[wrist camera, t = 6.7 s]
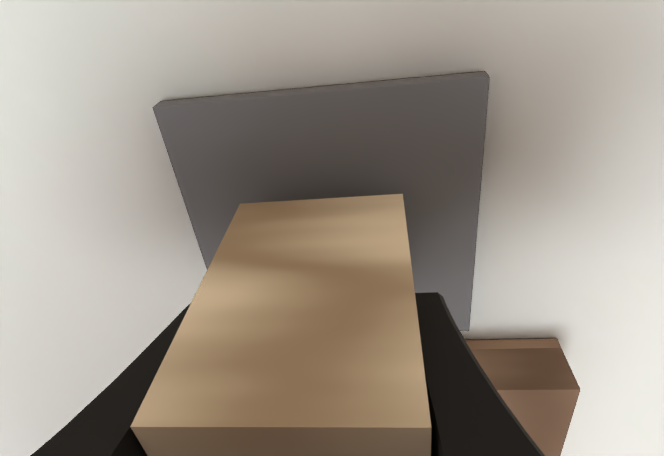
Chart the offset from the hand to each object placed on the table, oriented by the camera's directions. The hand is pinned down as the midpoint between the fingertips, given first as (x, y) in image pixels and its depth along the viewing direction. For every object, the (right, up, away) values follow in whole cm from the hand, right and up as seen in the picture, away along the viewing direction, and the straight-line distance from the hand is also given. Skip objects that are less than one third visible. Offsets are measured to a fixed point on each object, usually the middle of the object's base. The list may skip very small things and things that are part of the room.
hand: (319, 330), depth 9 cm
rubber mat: (0, +2, +3) cm, 4 cm away
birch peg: (0, +1, +2) cm, 3 cm away
